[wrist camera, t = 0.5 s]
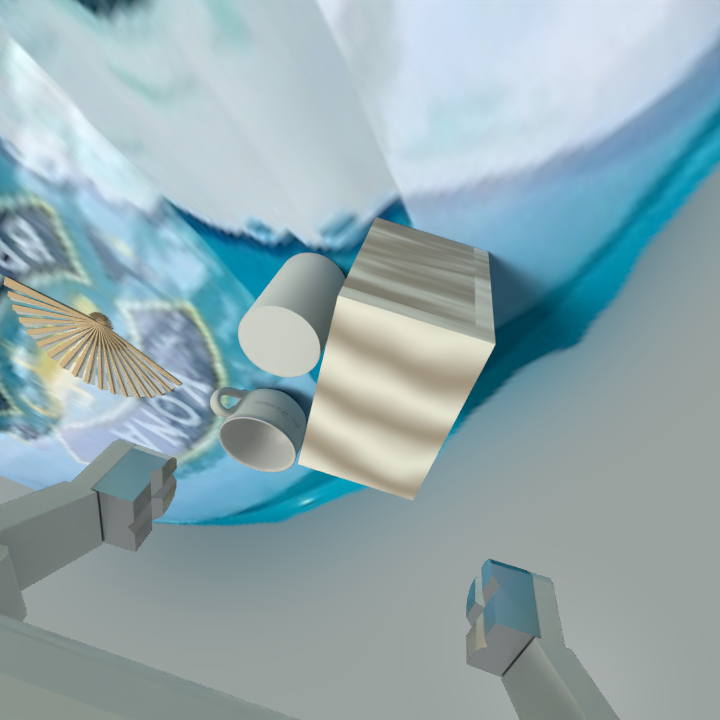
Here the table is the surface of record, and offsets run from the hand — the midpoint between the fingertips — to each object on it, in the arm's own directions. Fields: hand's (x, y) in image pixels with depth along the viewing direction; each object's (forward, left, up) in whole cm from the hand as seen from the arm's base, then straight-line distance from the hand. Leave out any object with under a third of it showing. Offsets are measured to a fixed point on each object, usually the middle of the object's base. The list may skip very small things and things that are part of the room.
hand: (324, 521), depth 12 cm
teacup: (+37, -12, -39) cm, 55 cm away
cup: (+17, -9, -39) cm, 44 cm away
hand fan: (+38, -39, -40) cm, 67 cm away
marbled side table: (+17, +2, -39) cm, 43 cm away
